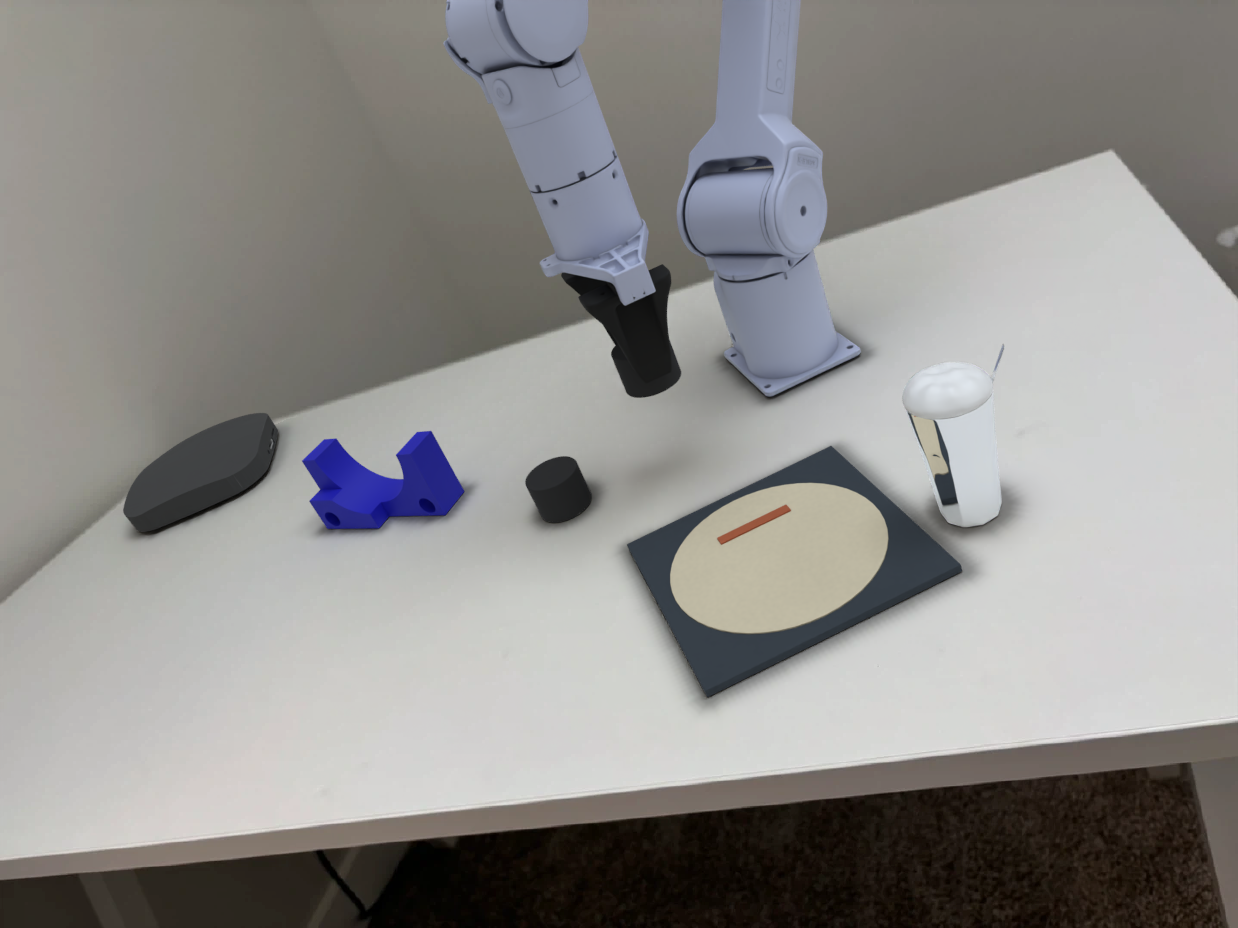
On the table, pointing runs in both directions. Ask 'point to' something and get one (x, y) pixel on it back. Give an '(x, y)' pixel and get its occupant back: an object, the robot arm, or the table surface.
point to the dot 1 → (558, 489)
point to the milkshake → (957, 438)
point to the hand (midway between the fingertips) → (647, 363)
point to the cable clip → (381, 485)
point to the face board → (784, 567)
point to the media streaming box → (202, 471)
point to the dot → (635, 384)
